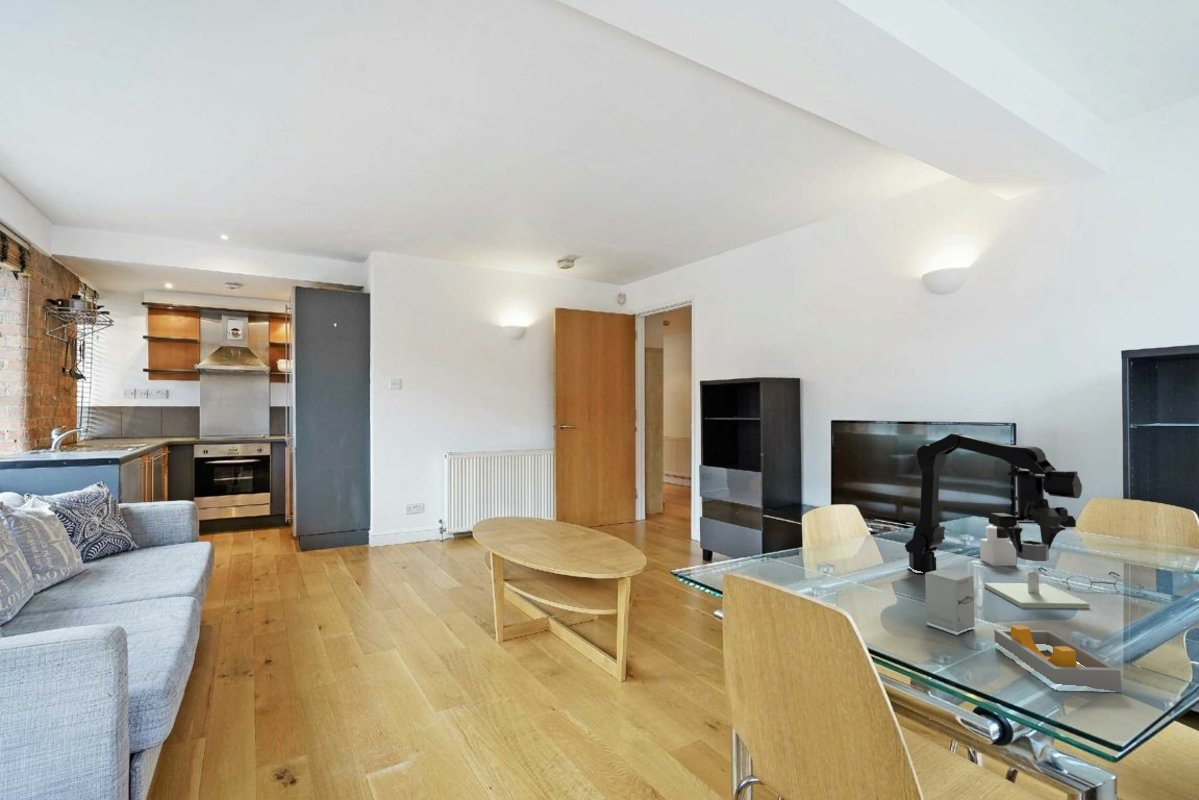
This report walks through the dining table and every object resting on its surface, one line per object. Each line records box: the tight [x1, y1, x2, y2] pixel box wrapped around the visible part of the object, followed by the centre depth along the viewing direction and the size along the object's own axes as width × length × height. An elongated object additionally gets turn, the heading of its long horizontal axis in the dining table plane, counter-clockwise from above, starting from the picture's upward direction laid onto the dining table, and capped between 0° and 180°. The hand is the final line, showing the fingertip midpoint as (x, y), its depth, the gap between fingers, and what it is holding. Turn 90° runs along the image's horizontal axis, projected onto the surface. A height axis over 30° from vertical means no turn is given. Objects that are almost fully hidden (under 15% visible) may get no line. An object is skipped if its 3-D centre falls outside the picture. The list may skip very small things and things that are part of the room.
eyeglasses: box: [1038, 567, 1145, 592], centre depth 161 cm, size 18×19×4 cm
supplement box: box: [924, 568, 976, 632], centre depth 130 cm, size 7×7×13 cm
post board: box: [983, 570, 1090, 609], centre depth 148 cm, size 16×16×7 cm
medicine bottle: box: [979, 524, 1017, 567], centre depth 180 cm, size 7×7×12 cm
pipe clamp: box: [1010, 624, 1083, 667], centre depth 109 cm, size 12×4×6 cm, turn 3°
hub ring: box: [1016, 539, 1050, 562], centre depth 149 cm, size 6×6×4 cm
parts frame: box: [994, 628, 1122, 693], centre depth 109 cm, size 11×18×4 cm, turn 174°
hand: (1032, 552), depth 149 cm, fingers closed on hub ring, 6 cm apart
